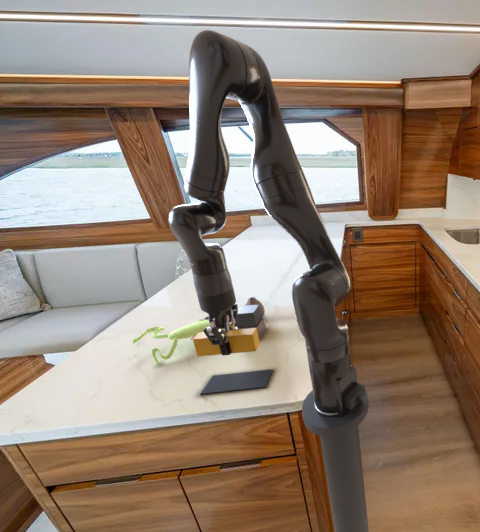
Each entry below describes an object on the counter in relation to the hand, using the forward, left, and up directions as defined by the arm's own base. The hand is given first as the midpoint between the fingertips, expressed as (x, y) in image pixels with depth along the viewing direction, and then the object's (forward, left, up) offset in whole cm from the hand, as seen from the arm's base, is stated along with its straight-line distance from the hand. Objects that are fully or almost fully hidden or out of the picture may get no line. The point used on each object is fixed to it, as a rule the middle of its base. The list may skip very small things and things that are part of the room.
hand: (229, 349), depth 76 cm
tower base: (+17, -17, -10) cm, 26 cm away
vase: (+26, -25, -10) cm, 38 cm away
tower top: (+17, -17, -5) cm, 25 cm away
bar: (0, 0, 0) cm, 0 cm away
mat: (0, 0, -10) cm, 10 cm away
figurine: (+34, -5, -10) cm, 36 cm away
